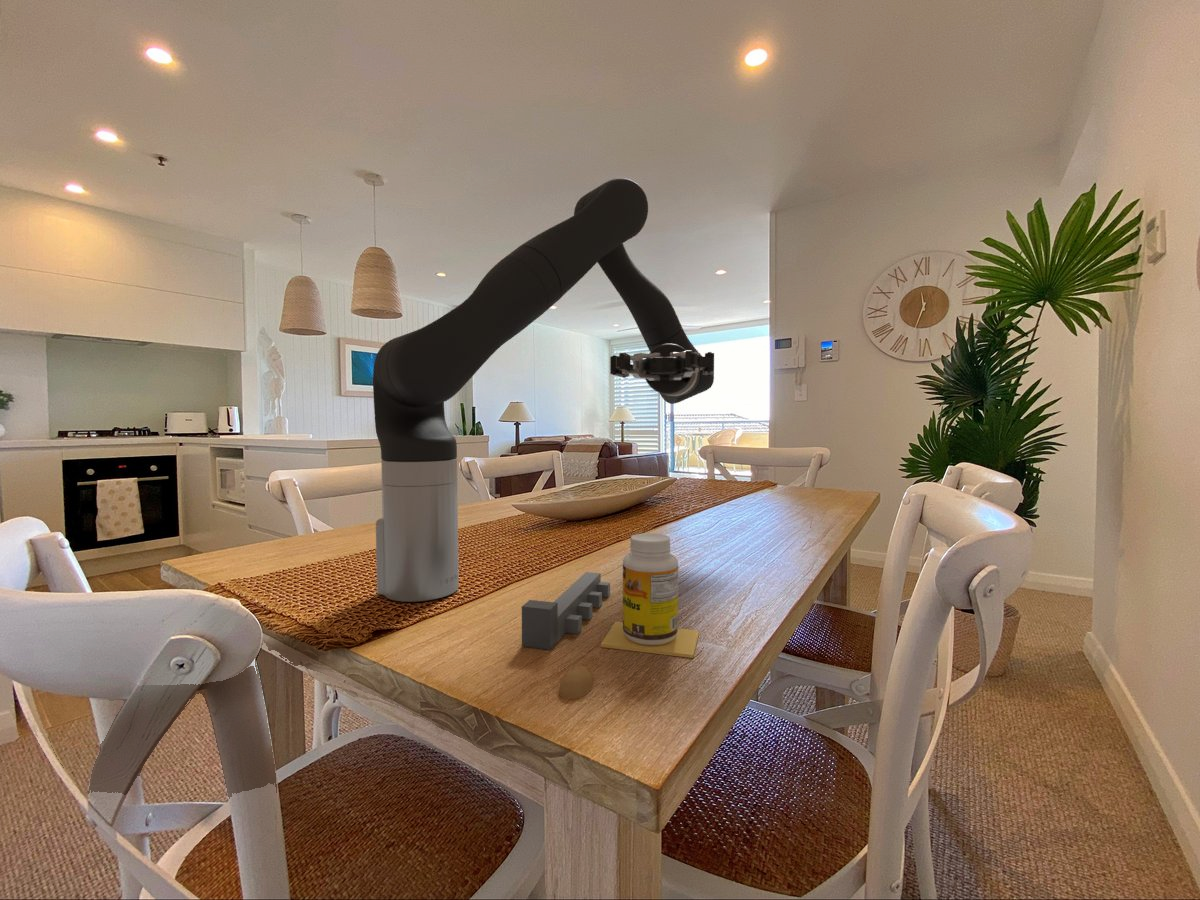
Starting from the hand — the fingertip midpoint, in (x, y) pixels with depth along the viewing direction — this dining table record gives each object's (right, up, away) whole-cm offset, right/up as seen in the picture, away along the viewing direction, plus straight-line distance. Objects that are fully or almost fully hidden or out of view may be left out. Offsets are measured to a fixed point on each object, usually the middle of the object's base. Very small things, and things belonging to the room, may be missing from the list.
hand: (654, 359), depth 67 cm
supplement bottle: (-2, -31, -13) cm, 34 cm away
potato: (-9, -32, -23) cm, 40 cm away
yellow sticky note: (-2, -31, -14) cm, 34 cm away
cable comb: (-10, -30, -7) cm, 33 cm away
